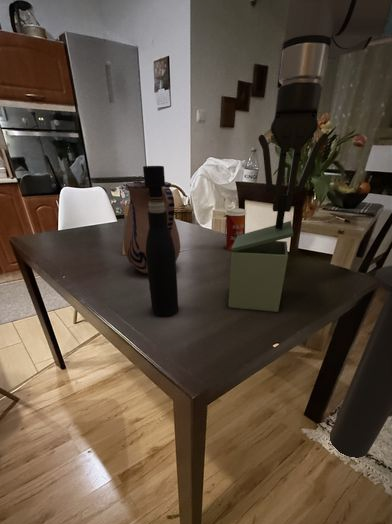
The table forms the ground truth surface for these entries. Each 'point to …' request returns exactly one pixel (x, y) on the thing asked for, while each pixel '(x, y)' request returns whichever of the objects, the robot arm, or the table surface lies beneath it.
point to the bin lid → (262, 236)
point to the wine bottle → (160, 248)
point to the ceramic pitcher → (145, 223)
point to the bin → (258, 276)
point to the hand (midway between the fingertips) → (278, 227)
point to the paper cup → (234, 225)
